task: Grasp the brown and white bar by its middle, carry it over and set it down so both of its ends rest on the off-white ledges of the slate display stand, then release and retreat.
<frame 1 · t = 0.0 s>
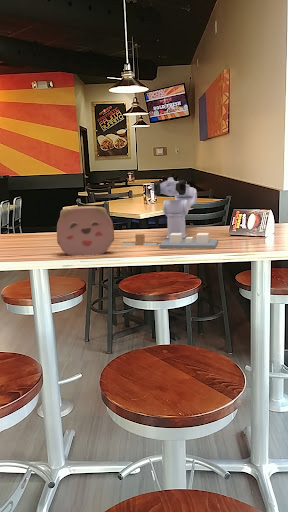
hand: (166, 187, 162), 22 cm above the table, tool horizontal, fingers open, 7 cm apart
brown and white bar: (140, 244, 170), on the table
face sculpture: (86, 254, 156), on the table
display stand: (189, 245, 165), on the table
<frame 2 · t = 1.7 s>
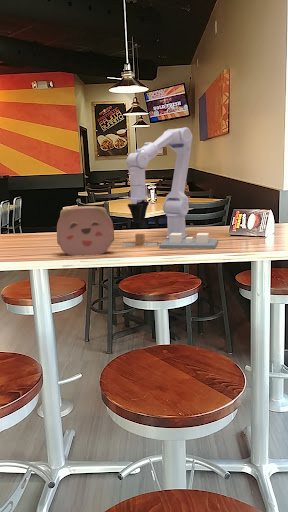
hand: (139, 221, 168), 9 cm above the table, tool pointing down, fingers open, 7 cm apart
nothing on the table moved.
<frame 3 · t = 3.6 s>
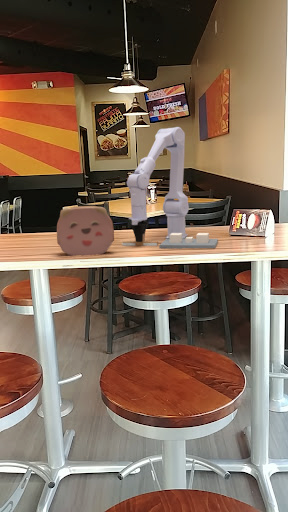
hand: (140, 241, 169), 1 cm above the table, tool pointing down, fingers closed on brown and white bar, 2 cm apart
brown and white bar: (140, 244, 170), on the table, touching gripper
everything else where it was.
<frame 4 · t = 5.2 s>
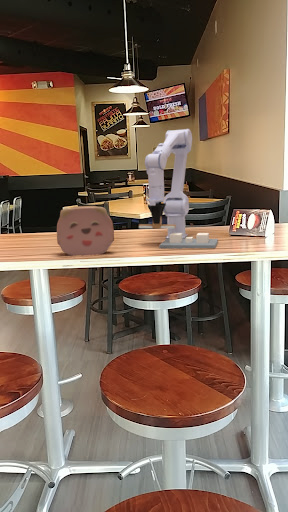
hand: (157, 223, 166), 8 cm above the table, tool pointing down, fingers closed on brown and white bar, 2 cm apart
brown and white bar: (157, 227, 167), point 7 cm above the table, touching gripper
everything else where it was.
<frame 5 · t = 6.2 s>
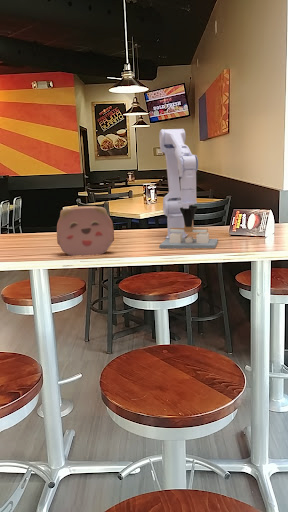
hand: (189, 226, 164), 7 cm above the table, tool pointing down, fingers closed on brown and white bar, 2 cm apart
brown and white bar: (188, 231, 164), point 5 cm above the table, touching gripper
everything else where it was.
when the fingers open (7 cm above the table, at t = 6.9 s): brown and white bar stays where it is, resting on display stand.
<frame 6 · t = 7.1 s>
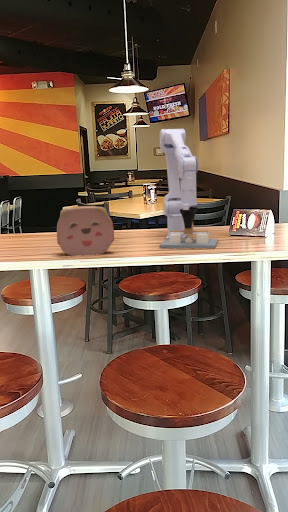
hand: (189, 227, 164), 7 cm above the table, tool pointing down, fingers open, 4 cm apart
brown and white bar: (188, 233, 164), point 4 cm above the table, touching display stand
everything else where it was.
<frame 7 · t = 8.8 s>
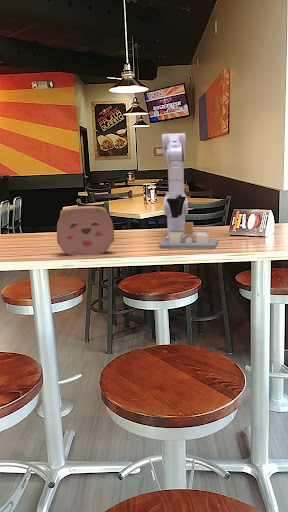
hand: (176, 216, 167), 10 cm above the table, tool pointing down, fingers open, 7 cm apart
nothing on the table moved.
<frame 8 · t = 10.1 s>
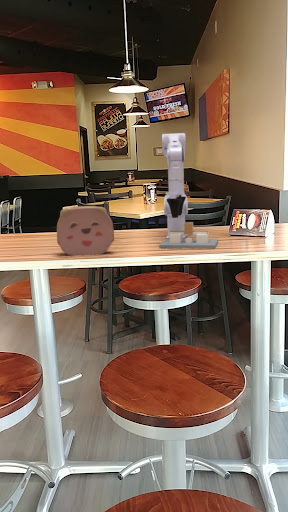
hand: (176, 216, 167), 10 cm above the table, tool pointing down, fingers open, 7 cm apart
nothing on the table moved.
at the end: brown and white bar 0.1 cm off-centre on the display stand, point 4.2 cm above the display stand's base; brown and white bar tilted 0°; the gripper is holding nothing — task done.
